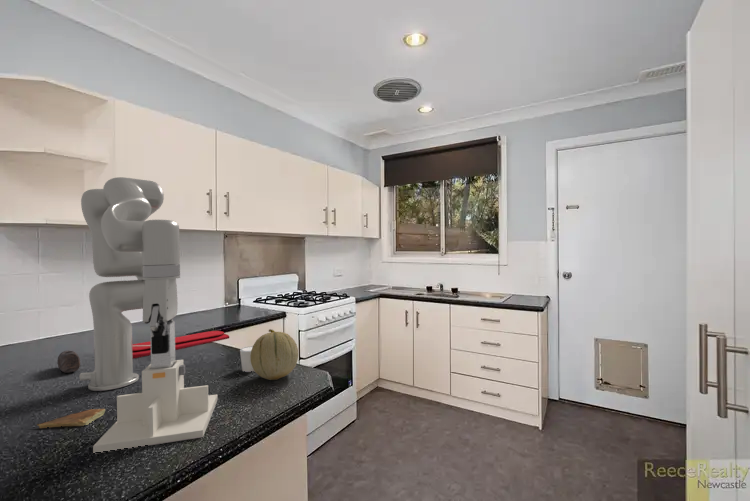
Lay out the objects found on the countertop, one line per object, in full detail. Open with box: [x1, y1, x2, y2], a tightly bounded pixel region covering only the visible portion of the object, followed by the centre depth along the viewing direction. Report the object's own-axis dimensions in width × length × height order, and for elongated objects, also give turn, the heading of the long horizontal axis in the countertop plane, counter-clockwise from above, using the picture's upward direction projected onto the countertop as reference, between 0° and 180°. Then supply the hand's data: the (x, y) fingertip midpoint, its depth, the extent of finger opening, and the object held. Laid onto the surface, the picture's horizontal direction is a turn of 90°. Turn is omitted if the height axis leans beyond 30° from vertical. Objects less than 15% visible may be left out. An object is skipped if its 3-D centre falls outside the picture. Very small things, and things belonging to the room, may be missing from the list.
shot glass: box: [239, 345, 255, 373], centre depth 120 cm, size 7×7×7 cm
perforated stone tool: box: [56, 350, 81, 374], centre depth 123 cm, size 15×5×7 cm, turn 49°
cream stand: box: [92, 359, 219, 454], centre depth 82 cm, size 20×20×14 cm
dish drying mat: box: [132, 330, 230, 360], centre depth 154 cm, size 16×41×4 cm, turn 140°
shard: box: [36, 408, 106, 429], centre depth 85 cm, size 11×8×2 cm
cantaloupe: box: [250, 328, 299, 381], centre depth 110 cm, size 15×15×15 cm
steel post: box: [149, 320, 176, 369], centre depth 82 cm, size 4×4×18 cm
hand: (163, 349), depth 82 cm, fingers closed on steel post, 4 cm apart
